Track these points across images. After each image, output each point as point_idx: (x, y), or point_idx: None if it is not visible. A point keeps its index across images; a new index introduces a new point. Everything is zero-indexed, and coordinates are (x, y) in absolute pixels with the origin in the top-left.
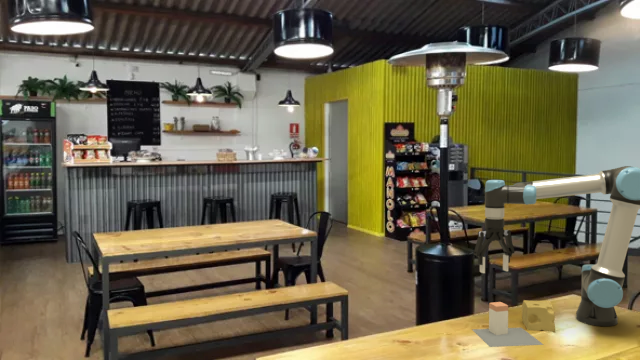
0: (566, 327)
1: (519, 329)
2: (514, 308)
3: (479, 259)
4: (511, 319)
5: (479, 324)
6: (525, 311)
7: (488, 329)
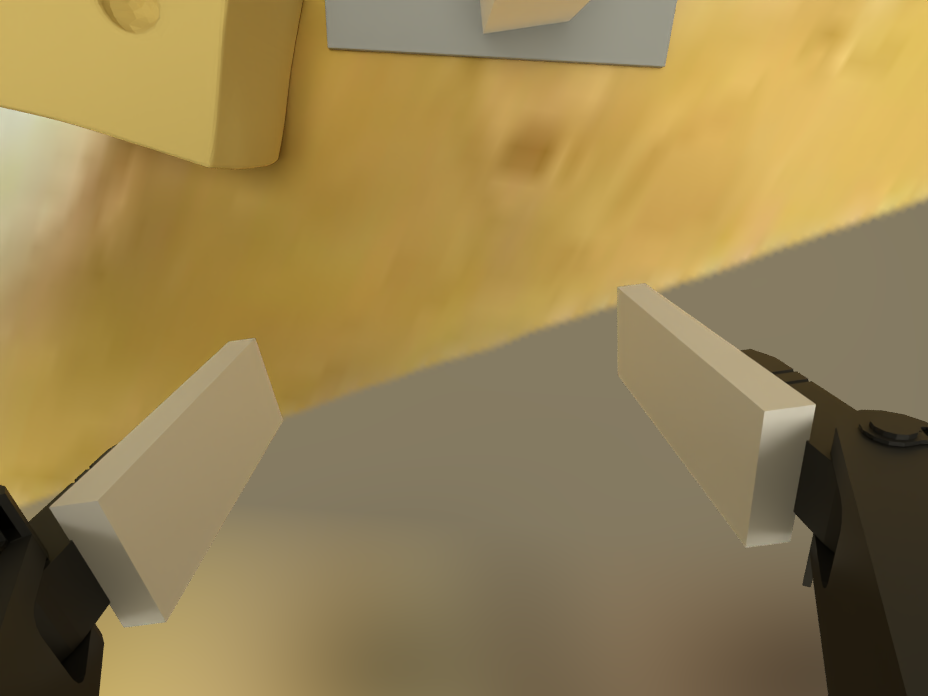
0: None
1: (355, 6)
2: None
3: (835, 417)
4: (324, 243)
5: (554, 184)
6: (251, 62)
7: (561, 44)
